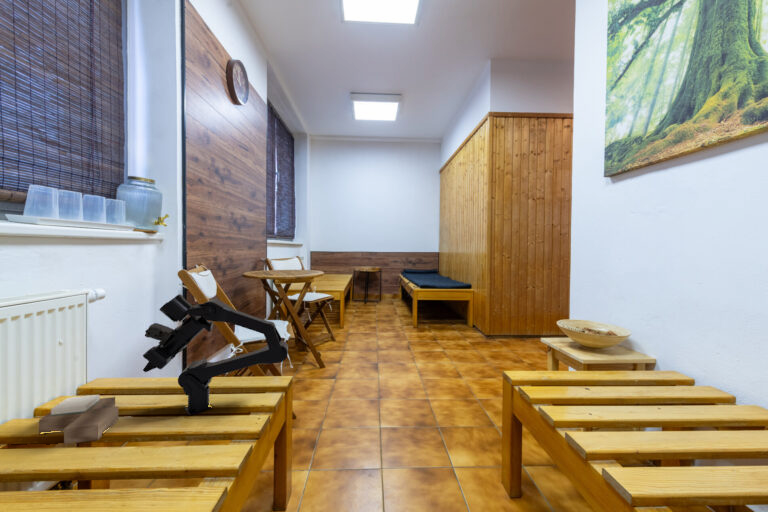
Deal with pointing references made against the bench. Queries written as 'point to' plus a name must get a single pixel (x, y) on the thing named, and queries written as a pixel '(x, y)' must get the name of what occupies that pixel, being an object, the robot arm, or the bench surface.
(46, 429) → the platform
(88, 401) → the tile
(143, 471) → the bench surface
